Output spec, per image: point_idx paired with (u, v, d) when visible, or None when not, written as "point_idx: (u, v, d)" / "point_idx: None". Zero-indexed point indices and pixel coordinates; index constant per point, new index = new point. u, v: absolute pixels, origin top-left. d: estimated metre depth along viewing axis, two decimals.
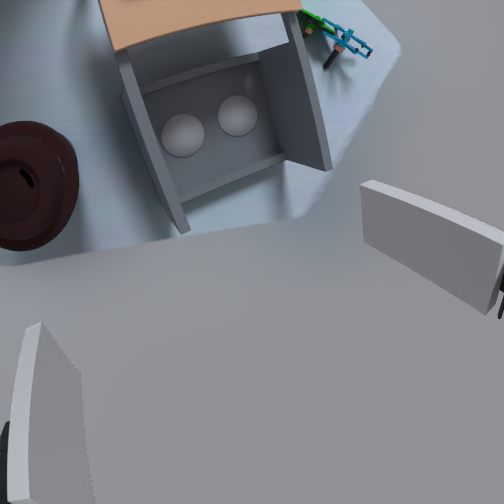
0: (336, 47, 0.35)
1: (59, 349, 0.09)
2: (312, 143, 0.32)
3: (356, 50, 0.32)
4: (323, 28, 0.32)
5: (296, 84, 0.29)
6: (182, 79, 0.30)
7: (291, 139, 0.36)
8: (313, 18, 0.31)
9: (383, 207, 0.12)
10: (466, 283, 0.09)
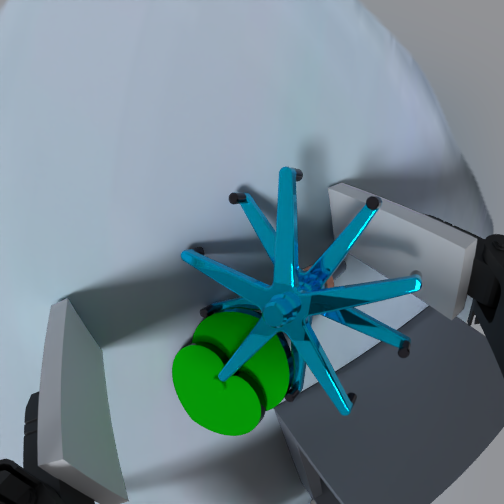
0: None
1: (83, 326, 0.10)
2: None
3: None
4: None
5: None
6: (318, 480, 0.21)
7: None
8: None
9: (350, 210, 0.12)
10: (431, 287, 0.09)
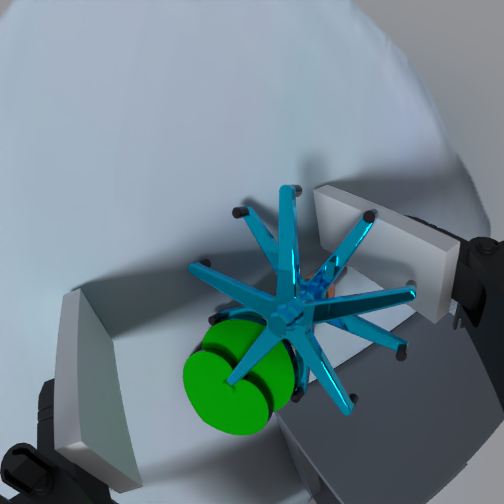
0: None
1: (95, 315, 0.11)
2: None
3: None
4: (289, 399, 0.12)
5: None
6: (316, 477, 0.21)
7: None
8: None
9: (334, 212, 0.12)
10: None
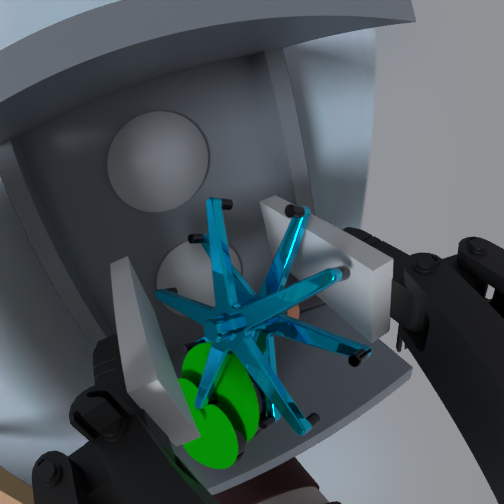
0: None
1: (140, 283, 0.12)
2: (312, 25, 0.07)
3: None
4: None
5: (61, 87, 0.06)
6: (90, 317, 0.14)
7: (248, 48, 0.10)
8: (237, 457, 0.11)
9: (277, 224, 0.12)
10: (350, 307, 0.09)
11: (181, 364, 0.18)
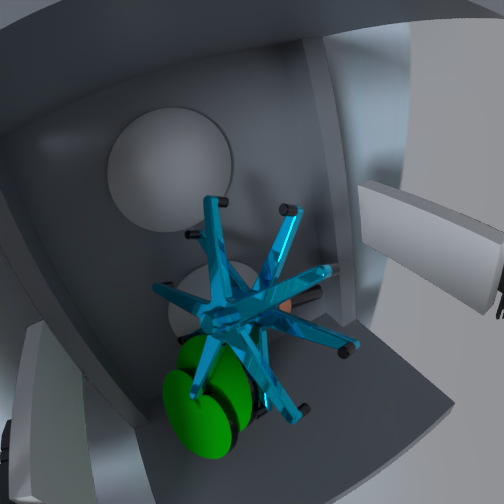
0: None
1: (60, 348, 0.09)
2: (401, 2, 0.04)
3: None
4: (253, 417, 0.11)
5: (31, 64, 0.03)
6: (91, 357, 0.12)
7: (292, 30, 0.08)
8: (231, 447, 0.11)
9: (381, 207, 0.12)
10: (464, 283, 0.09)
11: None
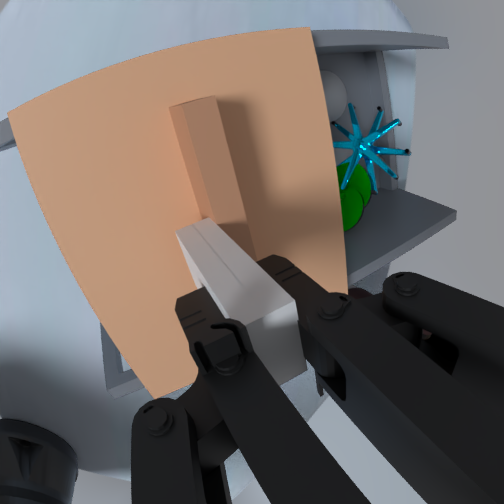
0: None
1: None
2: None
3: (409, 153, 0.23)
4: (370, 196, 0.25)
5: None
6: None
7: (379, 49, 0.22)
8: (361, 215, 0.25)
9: None
10: None
11: None
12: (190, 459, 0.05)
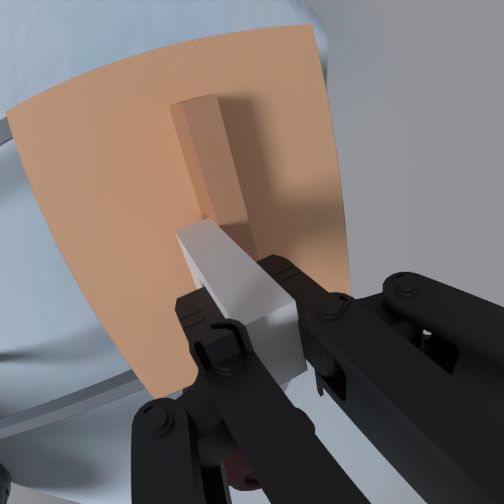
0: None
1: None
2: None
3: None
4: None
5: None
6: None
7: None
8: None
9: None
10: None
11: None
12: (190, 459, 0.05)
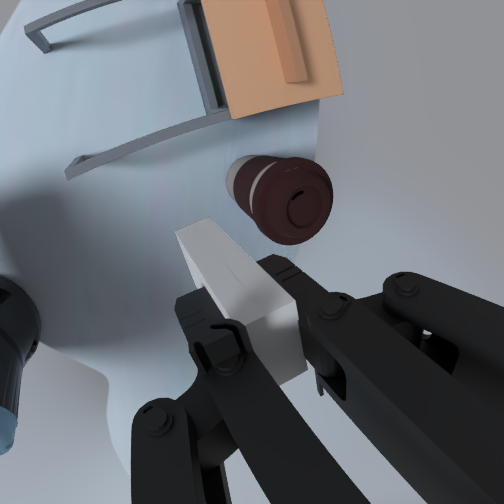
0: None
1: None
2: None
3: None
4: None
5: None
6: (206, 67, 0.35)
7: None
8: None
9: None
10: None
11: None
12: (190, 459, 0.05)
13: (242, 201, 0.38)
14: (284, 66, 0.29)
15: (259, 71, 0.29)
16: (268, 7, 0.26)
